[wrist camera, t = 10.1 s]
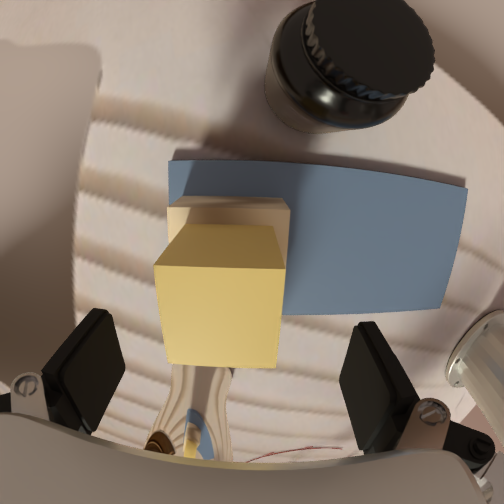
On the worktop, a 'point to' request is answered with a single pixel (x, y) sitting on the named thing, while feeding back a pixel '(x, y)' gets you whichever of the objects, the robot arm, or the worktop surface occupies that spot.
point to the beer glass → (194, 415)
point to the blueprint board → (346, 231)
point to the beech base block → (231, 214)
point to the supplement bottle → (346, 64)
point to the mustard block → (221, 296)
